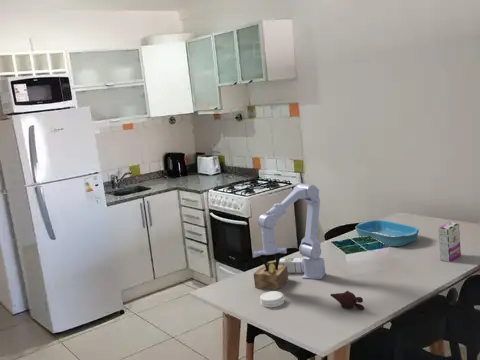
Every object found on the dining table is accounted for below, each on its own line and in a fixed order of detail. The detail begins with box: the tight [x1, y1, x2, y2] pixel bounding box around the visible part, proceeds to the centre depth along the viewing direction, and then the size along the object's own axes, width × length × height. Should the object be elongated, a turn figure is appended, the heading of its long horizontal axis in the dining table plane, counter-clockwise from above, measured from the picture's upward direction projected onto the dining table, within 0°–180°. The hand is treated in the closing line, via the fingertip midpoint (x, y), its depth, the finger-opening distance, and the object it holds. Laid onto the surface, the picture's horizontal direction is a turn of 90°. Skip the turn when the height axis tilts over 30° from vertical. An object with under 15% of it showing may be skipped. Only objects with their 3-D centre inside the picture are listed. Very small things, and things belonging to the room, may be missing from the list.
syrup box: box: [274, 257, 305, 274], centre depth 253 cm, size 6×6×14 cm
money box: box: [253, 264, 289, 290], centre depth 240 cm, size 12×12×7 cm
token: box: [267, 260, 277, 275], centre depth 231 cm, size 4×4×5 cm
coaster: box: [259, 290, 285, 308], centre depth 219 cm, size 10×10×4 cm
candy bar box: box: [438, 221, 462, 263], centre depth 245 cm, size 11×5×16 cm, turn 131°
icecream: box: [330, 290, 365, 311], centre depth 206 cm, size 7×7×15 cm
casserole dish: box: [355, 219, 420, 247], centre depth 285 cm, size 37×22×7 cm, turn 32°
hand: (272, 270), depth 231 cm, fingers closed on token, 4 cm apart
